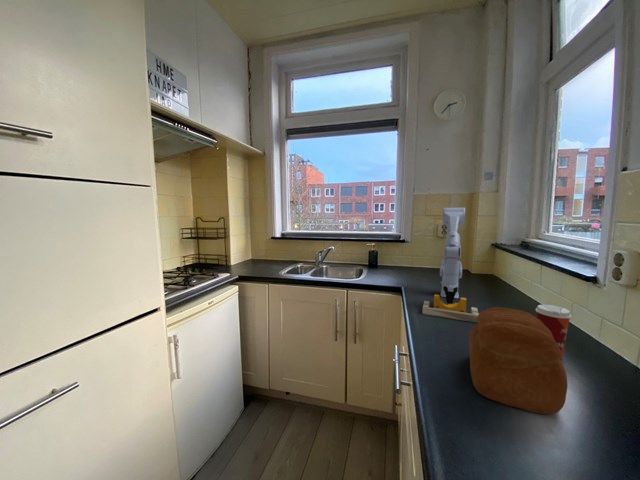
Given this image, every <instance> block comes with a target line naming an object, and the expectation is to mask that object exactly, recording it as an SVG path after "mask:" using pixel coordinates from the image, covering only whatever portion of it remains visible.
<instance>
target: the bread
mask: <svg viewBox="0 0 640 480" xmlns="http://www.w3.org/2000/svg"><path fill="white" fill-rule="evenodd" d="M478 313H479V315H478V316H477V320H478V323H476V324H475V325H474V326H473V327H472V328H471V330H470V332H469V339H468V345H469V368H470V375H471V381H472V384H473V387H474V388H475V390H476V391H477V392H478V393H479V394H480V395H481V396H483V397H485V398H486V399H489V400H492V401H495V402H497V403H499V404H503V405H505V406H510V407H514V408H517V409H520V410H523V411H527V412H531V413H532V412H533V413H536V414H542V415H553V414H557V413H559V412H560V411H561V410H562V409H563V407H564V405H565V403H566V400H567V398H566V397H567V393H568V376H567V373H566V369H565V367H564V365H563V362H562V361H561V360H560V359H559V356H560V348H559V347H558V345H557V343H556V342H555V340H554V338H553V336H552V333H551V331H550V330H549V329H548V328H547V327H546V326H545V325H544V324H543V323H542V322H541V321H540V320H539V319H538V318H537V316H535V315H534V314H531V313H530V312H527V311H524V310H520V309H516V308H515V309H514V308H508V307H500V306H497V307H496V306H495V307H494V306H493V307H489V308H486V309H484V310H482V311H480V312H478Z"/></svg>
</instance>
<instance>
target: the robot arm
mask: <svg viewBox="0 0 640 480" xmlns="http://www.w3.org/2000/svg"><path fill="white" fill-rule="evenodd" d="M465 218H466V208H465V206H464V207H463V206H462V207H443V208H442V225H443V226H446V228H447V233H446V234H445V244H444V248H443V258H444V259H442V260H441V261H440V266H439V276H440V277H441V278H442V281H440V284H441V290H440V297H442V298H444V297H445V301H446V304H447V305H448V304H454V299H460V297H459V296H460V295H459V280H460V279H462V278H463V277H462V276H463V264H462V262H461V261H460V260H461V257H462V247H461V235H460V234H459V233H458V230H459V228H460V227H461V226H463V225H464V223H465Z"/></svg>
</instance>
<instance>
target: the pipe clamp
mask: <svg viewBox="0 0 640 480" xmlns="http://www.w3.org/2000/svg"><path fill="white" fill-rule="evenodd" d="M433 308H437V309H444V310H450V311H457V312H464V313H467V297H460V298H459V301H458V302H455V303H452V304H448V303H444V302H443V301H442V300H441V296H440V294H434V296H433Z"/></svg>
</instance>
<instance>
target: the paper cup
mask: <svg viewBox="0 0 640 480" xmlns="http://www.w3.org/2000/svg"><path fill="white" fill-rule="evenodd" d="M535 312H536V318H538V319H539V320H540V321H541V322H542V323H543V324H544V325H545V326H546V327H547V328H548V329H549V330H550V331H551V333H552V336H553V338H554V340H555V342H556V343H557V345H558V347H559V348H560V356H559V359H560V361H561V360H562V359H563V356H564V351H565V347H566V346H565V345H566V340H567V335H568V330H569V324H570V320H571V318H572V315H571V312H570V310H569V309H567V308H564V307H561V306H557V305H552V304H538V305H537V307H536V308H535Z"/></svg>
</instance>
